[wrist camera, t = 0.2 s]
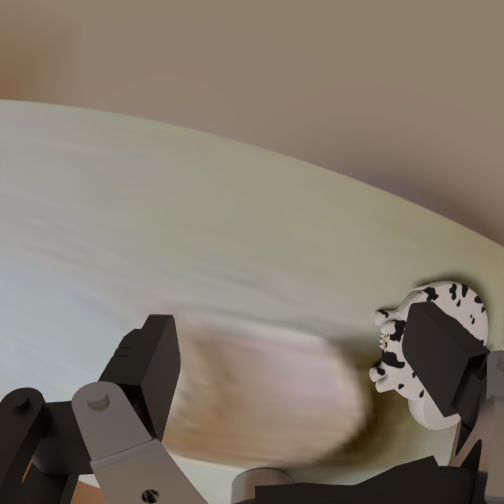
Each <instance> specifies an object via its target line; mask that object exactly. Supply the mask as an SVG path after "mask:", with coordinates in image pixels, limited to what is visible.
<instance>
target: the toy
mask: <svg viewBox="0 0 504 504" xmlns="http://www.w3.org/2000/svg"><path fill="white" fill-rule="evenodd" d="M411 290H416V291H414V292H413V293H411V294H410V295H409V296H408V297H407V298H406V299H405V300H404V301H403V302H402V303H401V304H400V305H399V306H398V308H397V309H396V310H393V311H387V310H379V311H376V312H375V313H374V316H373V322H374V324H375V325H376V326H381V327H380V330H381V332H382V333H383V334H381V337H383V340H380V342H381V343H382V345H380V347H381V348H382V362H381V364H380V365H379V366H374V367H372V368H371V369H370V373H369V374H370V378H371V380H372V381H374V382H377V383H376V389H377V390H378V392H384V391H388V390H392V389H395V390H397V391H398V392H399V393H400V394H401V395H402V396H404V397H405V398H407V399H408V405H409V410H410V413H411V414H412V416H413V418H414V419H415V420H416V421H417V422H418V423H419V424H420V425H422V426H424V427H426V428H428V429H432V430H442V429H447V428H449V427H452V426H454V425H455V424H457V423H458V422H459V420H460V418H461V417H460V416H459V414H455V415H452V416H448V417H445V418H444V417H443V415H442V414H441V412H440V411H439V409H438V408H437V406H436V404H435V403H434V401H433V400H432V398H431V397H430V395H429V394H428V392H427V391H426V389H425V388H424V386H423V385H422V383H421V382H420V380H419V379H418V377H417V376H416V374H415V373H414V371H413V370H412V368H411V367H410V365H409V364H408V362H407V361H406V360H405V358H404V356H403V353H402V339H403V335H404V330H405V326H406V321H407V316H408V311H409V307H410V305H411V304H412V303H416V302H425V301H433V302H434V303H435V304H436V305H437V306H438V307H439V308H441V309H442V310H443V311H444V312H445V313H446V314H448V315H450V316H452V317H454V318H455V319H457V320H458V321H459V322H460V323H461V324H462V325H463V327H464V328H466V329H467V330H468V331H469V332H470V334H473V335H474V336H475V337H476V338H477V339H478V340H479V341H480V342H481V343H482V344H483V345H484V346H485V347H486V343H487V338H488V319H487V314H486V310H485V308H484V305H483V303H482V301H481V299H480V298H479V296H478V295H477V294H476V293H475V292H474V291H473V290H472V289H471V288H469V287H468V286H466V285H464V284H461V283H457V282H453V281H438V282H432V283H429V284H427V285H424V286H420V287H416V288H413V289H410V291H411Z"/></svg>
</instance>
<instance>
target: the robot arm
mask: <svg viewBox="0 0 504 504" xmlns="http://www.w3.org/2000/svg"><path fill="white" fill-rule="evenodd" d="M402 353H403V356H404V358H405V360H406V361H407V362H408V364H409V365H410V367H411V368H412V370H413V371H414V373H415V374H416V376H417V377H418V379H419V380H420V382H421V383H422V385H423V386H424V388H425V389H426V391H427V392H428V394H429V395H430V397H431V398H432V400H433V401H434V403H435V404H436V406H437V408H438V409H439V411H440V412H441V414H442V415H443V417H444V418H445V417H448V416H452V415H455V414H459V416H460V417H461V418H460V420H459V422H458V425H457V430H456V435H455V439H454V444H453V448H452V453H451V457H450V461H449V464H448V466H438V464H437V462H436V460H435V458H434V456H429V457H426V458H423V459H420V460H416V461H413V462H409V463H406V464H402V465H398V466H395V467H393V468H391V469H389V470H387V471H385V472H383V473H381V474H379V475H377V476H375V477H372V478H370V479H368V480H366V481H364V482H361V483H359V484H356V485H329V484H314V483H294V484H293V480H292V478H291V477H290V476H289V475H288V474H286V473H284V472H282V471H279V470H274V469H255V470H251V471H247V472H245V473H242V474H240V475H239V476H238V477H236V478H235V479H234V481H233V483H232V493H231V504H504V351H502V350H498V351H493V352H490V351H489V350H488V349H487V348H486V347H485V346H484V345H483V344H482V343H481V342H480V341H479V340H478V339H477V338H476V337H475V336H474V335H473V334H470V332H469V331H468V330H467V329H466V328H464V327H463V325H462V324H461V323H460V322H459V321H458V320H457V319H455V318H454V317H452V316H450V315H448V314H446V313H445V312H444V311H443V310H442V309H441V308H439V307H438V306H437V305H436V304H435V303H434V302H433V301H425V302H416V303H412V304H411V305H410V307H409V311H408V316H407V321H406V326H405V330H404V335H403V339H402ZM180 365H181V361H180V351H179V345H178V339H177V333H176V326H175V320H174V317H173V315H153V314H151V315H149V316H148V318H147V320H146V322H145V323H144V325H143V327H142V329H134V330H132V331H131V332H130V333H128V334H127V335H126V336H124V337H123V339H122V341H121V342H120V344H119V346H118V348H117V349H116V351H115V353H114V356H112V358H111V359H110V361H109V363H108V364H107V366H106V368H105V370H104V371H103V373H102V375H101V377H100V378H99V380H98V382H93V383H90V384H87V385H85V386H83V387H81V388H80V389H79V390H78V391H77V392H76V393H75V394H74V396H73V398H72V401H66V402H50V403H46V402H45V400H44V398H43V396H42V394H41V393H40V392H39V391H38V390H36V389H34V388H28V387H27V388H19V389H16V390H14V391H12V392H10V393H9V394H7V395H6V396H5V397H4V398H3V400H2V401H1V402H0V504H70V503H71V499H72V496H73V493H74V490H75V487H76V484H77V481H78V478H79V475H83V474H94V475H95V477H96V479H97V482H98V484H99V486H100V488H101V490H102V492H103V494H104V496H105V499H106V501H107V502H108V504H208V503H207V502H206V500H205V499H204V498H203V497H202V496H201V495H200V493H199V492H198V491H197V490H196V489H195V487H194V486H193V485H192V484H191V482H190V481H189V480H188V479H187V477H186V476H185V475H184V474H183V472H182V471H181V470H180V468H179V467H178V466H177V464H176V463H175V462H174V460H173V459H172V458H171V456H170V455H169V454H168V452H167V451H166V449H165V448H164V447H163V445H162V444H161V442H162V438H163V434H164V430H165V426H166V422H167V418H168V415H169V411H170V407H171V403H172V399H173V396H174V392H175V388H176V384H177V381H178V377H179V373H180ZM30 460H31V461H32V464H31V466H30V468H29V470H28V473H27V475H26V477H25V479H24V482H23V484H22V479H23V476H24V473H25V471H26V469H27V467H28V464H29V462H30Z"/></svg>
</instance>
